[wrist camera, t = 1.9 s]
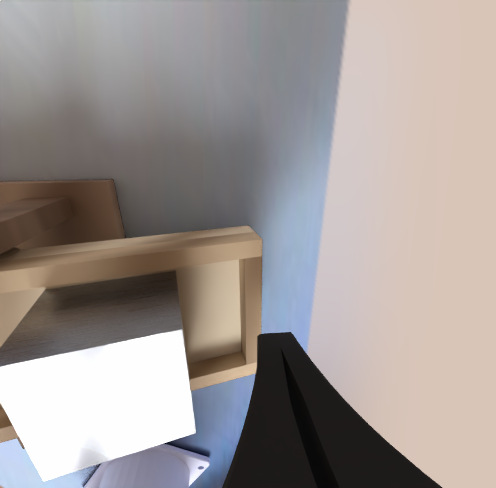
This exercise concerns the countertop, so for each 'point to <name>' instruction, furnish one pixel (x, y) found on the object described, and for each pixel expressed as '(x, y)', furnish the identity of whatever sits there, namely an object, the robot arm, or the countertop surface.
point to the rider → (98, 372)
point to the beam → (150, 262)
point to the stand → (58, 214)
